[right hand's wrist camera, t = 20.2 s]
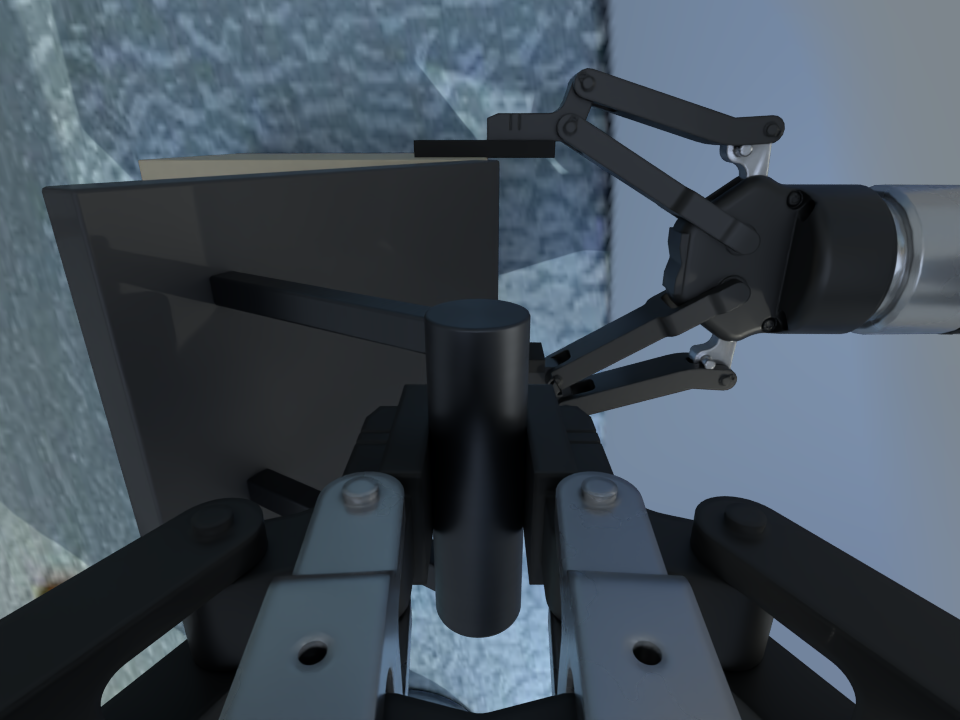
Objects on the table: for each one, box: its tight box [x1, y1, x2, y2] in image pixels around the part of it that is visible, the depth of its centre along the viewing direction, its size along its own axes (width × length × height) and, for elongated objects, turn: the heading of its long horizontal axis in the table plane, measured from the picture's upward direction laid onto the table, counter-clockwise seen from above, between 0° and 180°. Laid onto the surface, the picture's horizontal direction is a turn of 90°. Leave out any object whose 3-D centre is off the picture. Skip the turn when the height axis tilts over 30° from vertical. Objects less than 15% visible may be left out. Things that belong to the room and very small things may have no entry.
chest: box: [138, 153, 488, 180], centre depth 30 cm, size 15×10×11 cm
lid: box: [42, 160, 530, 638], centre depth 16 cm, size 16×10×9 cm
